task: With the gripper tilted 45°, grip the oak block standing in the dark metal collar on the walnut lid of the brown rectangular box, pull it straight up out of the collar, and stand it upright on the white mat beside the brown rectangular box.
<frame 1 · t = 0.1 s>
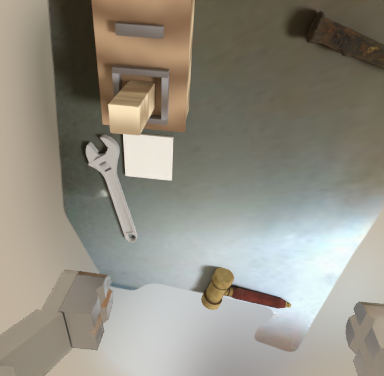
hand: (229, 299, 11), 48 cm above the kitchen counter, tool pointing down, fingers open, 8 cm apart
hand tool: (367, 44, 50), on the kitchen counter
brown rectangular box: (153, 55, 54), on the kitchen counter
gavel: (249, 289, 82), on the kitchen counter
oak block: (142, 94, 49), point 8 cm above the kitchen counter, touching brown rectangular box
white mat: (148, 156, 64), on the kitchen counter
adjustable wrench: (114, 189, 69), on the kitchen counter
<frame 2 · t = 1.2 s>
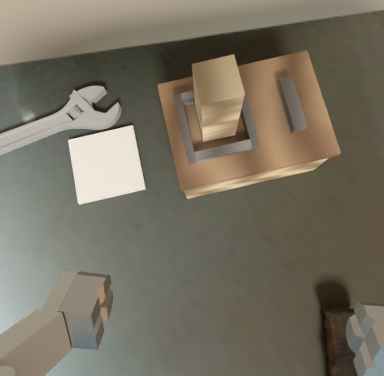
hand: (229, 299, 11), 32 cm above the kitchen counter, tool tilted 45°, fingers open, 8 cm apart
brown rectangular box: (239, 141, 46), on the kitchen counter
oak block: (215, 124, 38), point 8 cm above the kitchen counter, touching brown rectangular box
white mat: (107, 164, 46), on the kitchen counter
adjustable wrench: (36, 130, 48), on the kitchen counter
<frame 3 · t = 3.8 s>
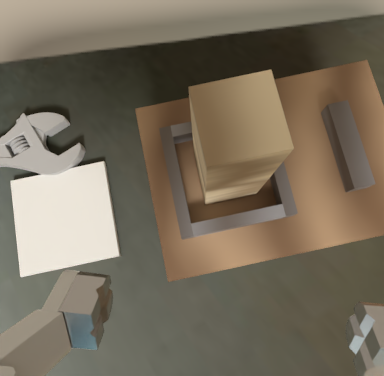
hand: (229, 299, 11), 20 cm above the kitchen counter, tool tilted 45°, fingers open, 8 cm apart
brown rectangular box: (255, 188, 32), on the kitchen counter
oak block: (224, 174, 24), point 8 cm above the kitchen counter, touching brown rectangular box
white mat: (66, 218, 32), on the kitchen counter
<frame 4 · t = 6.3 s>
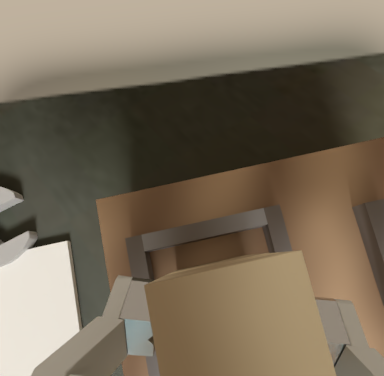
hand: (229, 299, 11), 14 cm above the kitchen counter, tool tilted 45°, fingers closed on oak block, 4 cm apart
brown rectangular box: (260, 275, 25), on the kitchen counter
oak block: (219, 298, 17), point 8 cm above the kitchen counter, touching gripper, brown rectangular box
white mat: (18, 314, 25), on the kitchen counter
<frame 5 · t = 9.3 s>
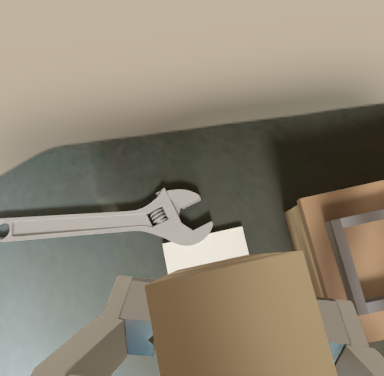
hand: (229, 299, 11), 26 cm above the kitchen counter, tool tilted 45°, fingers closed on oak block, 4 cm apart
brown rectangular box: (375, 249, 37), on the kitchen counter
oak block: (219, 298, 17), point 21 cm above the kitchen counter, touching gripper
white mat: (211, 275, 37), on the kitchen counter
adjustable wrench: (105, 218, 40), on the kitchen counter
when the fingers open (8 cm above the kitchen counter, at t = 12.3 s): oak block drops 1 cm, resting on white mat.
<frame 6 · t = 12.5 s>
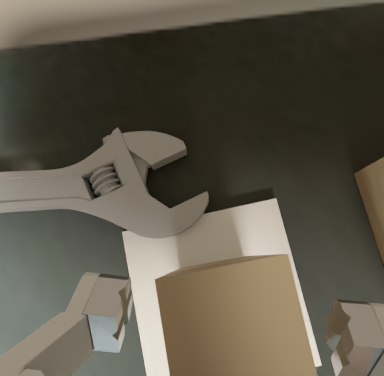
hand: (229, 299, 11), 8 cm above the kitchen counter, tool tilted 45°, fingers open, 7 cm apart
oak block: (218, 295, 18), point 1 cm above the kitchen counter, touching white mat
white mat: (216, 294, 19), on the kitchen counter
adjustable wrench: (9, 185, 21), on the kitchen counter
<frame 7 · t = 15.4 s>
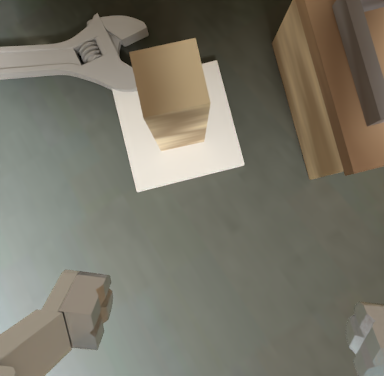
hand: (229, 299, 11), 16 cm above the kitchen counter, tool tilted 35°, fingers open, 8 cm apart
oak block: (177, 125, 28), point 1 cm above the kitchen counter, touching white mat
white mat: (177, 126, 28), on the kitchen counter
adjustable wrench: (20, 60, 29), on the kitchen counter, touching white mat
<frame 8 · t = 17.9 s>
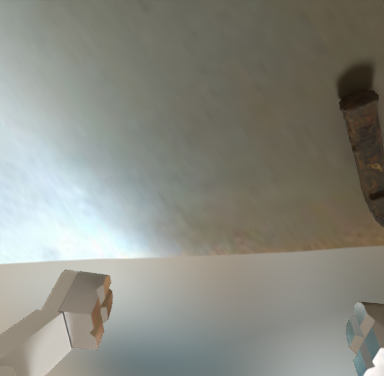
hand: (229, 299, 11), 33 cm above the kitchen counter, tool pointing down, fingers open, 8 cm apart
hand tool: (368, 156, 44), on the kitchen counter
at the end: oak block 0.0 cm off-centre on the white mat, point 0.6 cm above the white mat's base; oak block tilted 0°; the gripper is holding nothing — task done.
